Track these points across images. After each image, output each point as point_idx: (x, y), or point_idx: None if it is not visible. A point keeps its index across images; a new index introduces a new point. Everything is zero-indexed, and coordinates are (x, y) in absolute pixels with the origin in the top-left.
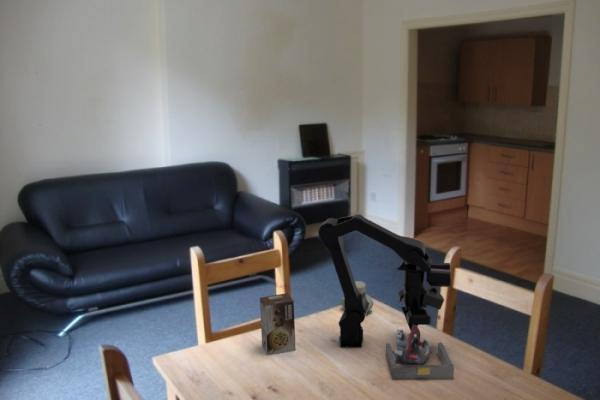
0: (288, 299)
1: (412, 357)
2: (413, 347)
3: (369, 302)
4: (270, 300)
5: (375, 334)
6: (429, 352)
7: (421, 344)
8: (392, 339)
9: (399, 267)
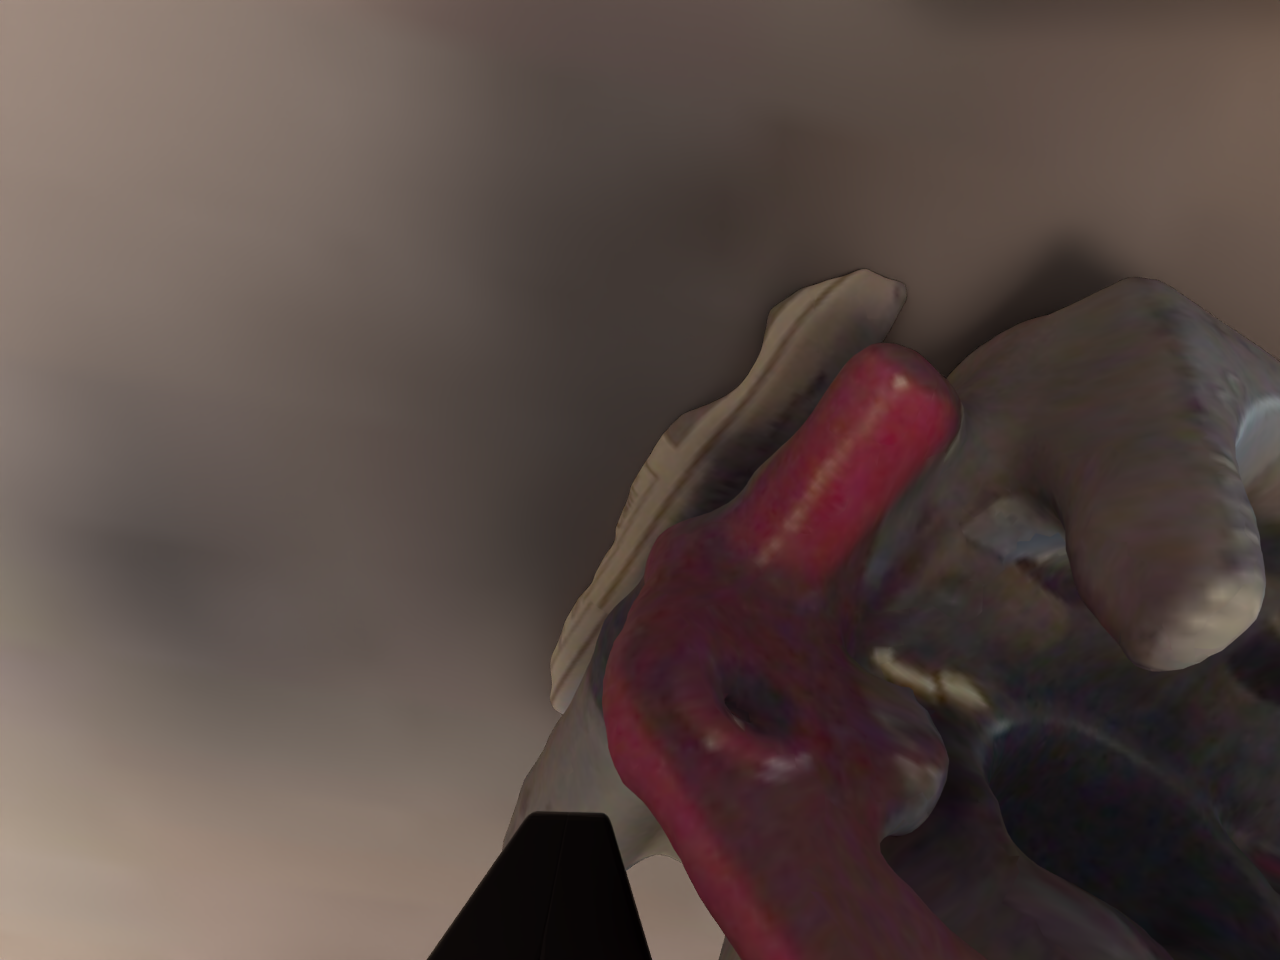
0: None
1: None
2: (1046, 752)
3: None
4: None
5: (126, 950)
6: (1237, 334)
7: (876, 526)
8: (248, 778)
9: None
